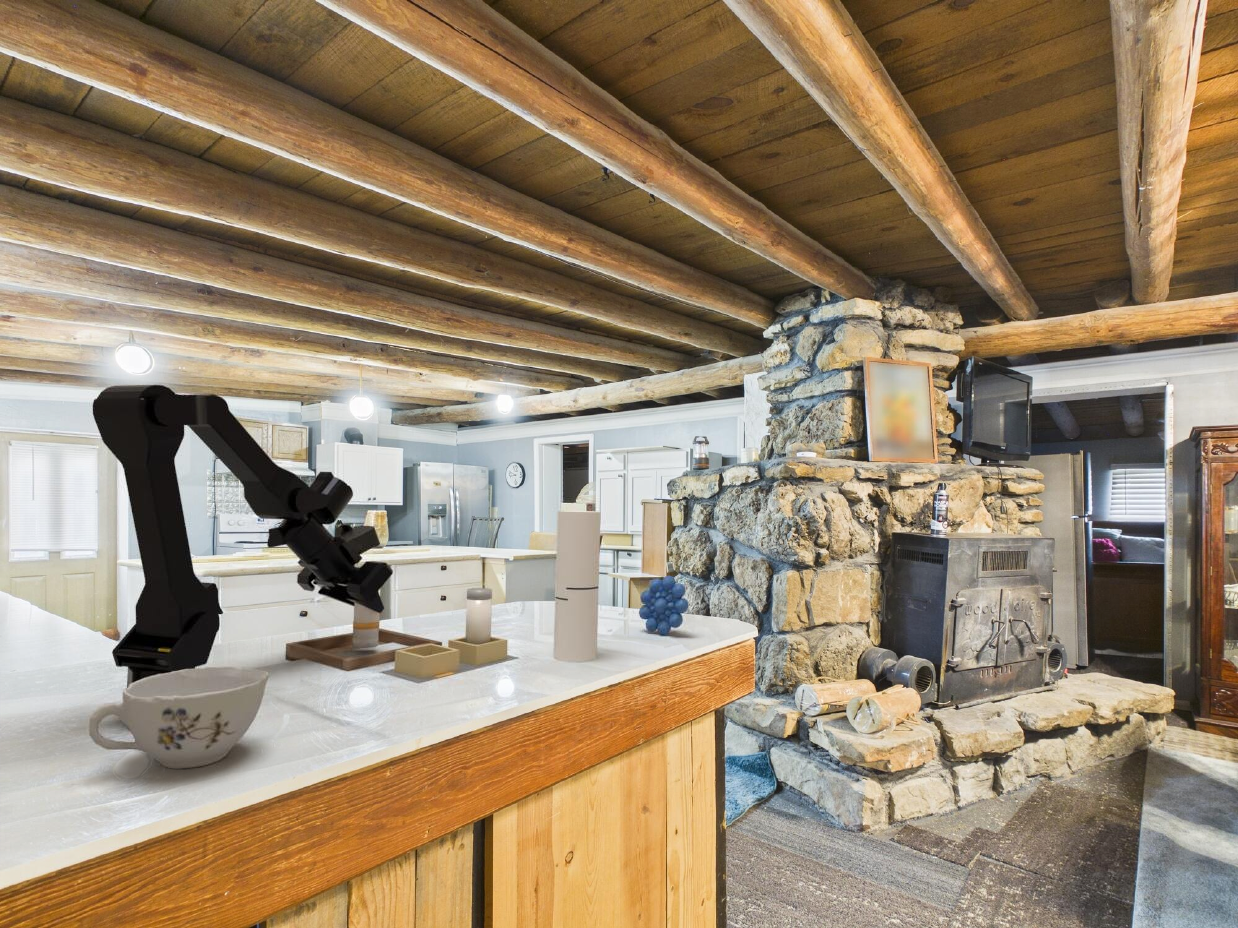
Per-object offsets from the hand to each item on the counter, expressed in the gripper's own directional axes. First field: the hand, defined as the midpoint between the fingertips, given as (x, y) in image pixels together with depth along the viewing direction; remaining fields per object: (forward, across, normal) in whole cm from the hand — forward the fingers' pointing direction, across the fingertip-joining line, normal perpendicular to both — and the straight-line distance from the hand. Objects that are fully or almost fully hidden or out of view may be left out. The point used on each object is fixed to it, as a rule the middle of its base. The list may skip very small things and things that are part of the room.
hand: (374, 609), depth 113 cm
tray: (+5, 0, +6) cm, 8 cm away
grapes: (+41, -26, -30) cm, 57 cm away
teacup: (-21, -24, +33) cm, 46 cm away
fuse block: (+7, -17, +4) cm, 19 cm away
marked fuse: (+3, 0, +5) cm, 6 cm away
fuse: (+10, -17, -1) cm, 20 cm away
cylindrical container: (+19, -28, -8) cm, 35 cm away
